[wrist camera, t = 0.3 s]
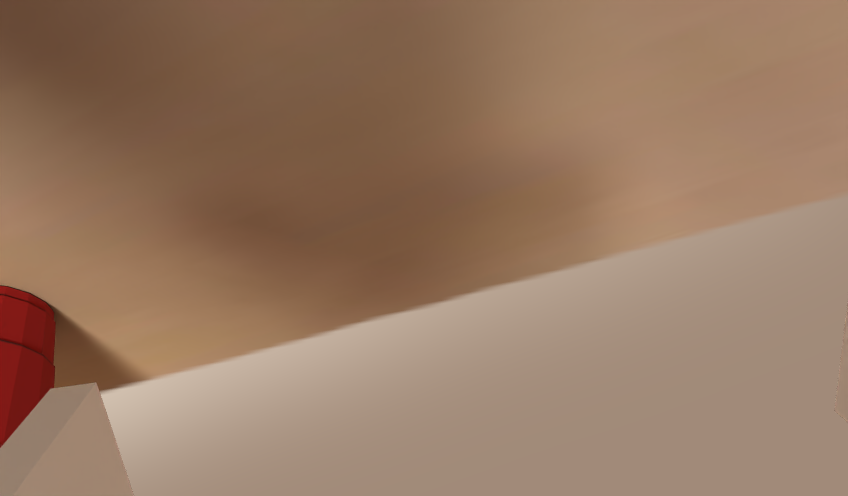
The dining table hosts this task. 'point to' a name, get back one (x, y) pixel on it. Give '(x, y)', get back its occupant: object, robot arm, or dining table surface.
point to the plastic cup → (23, 356)
